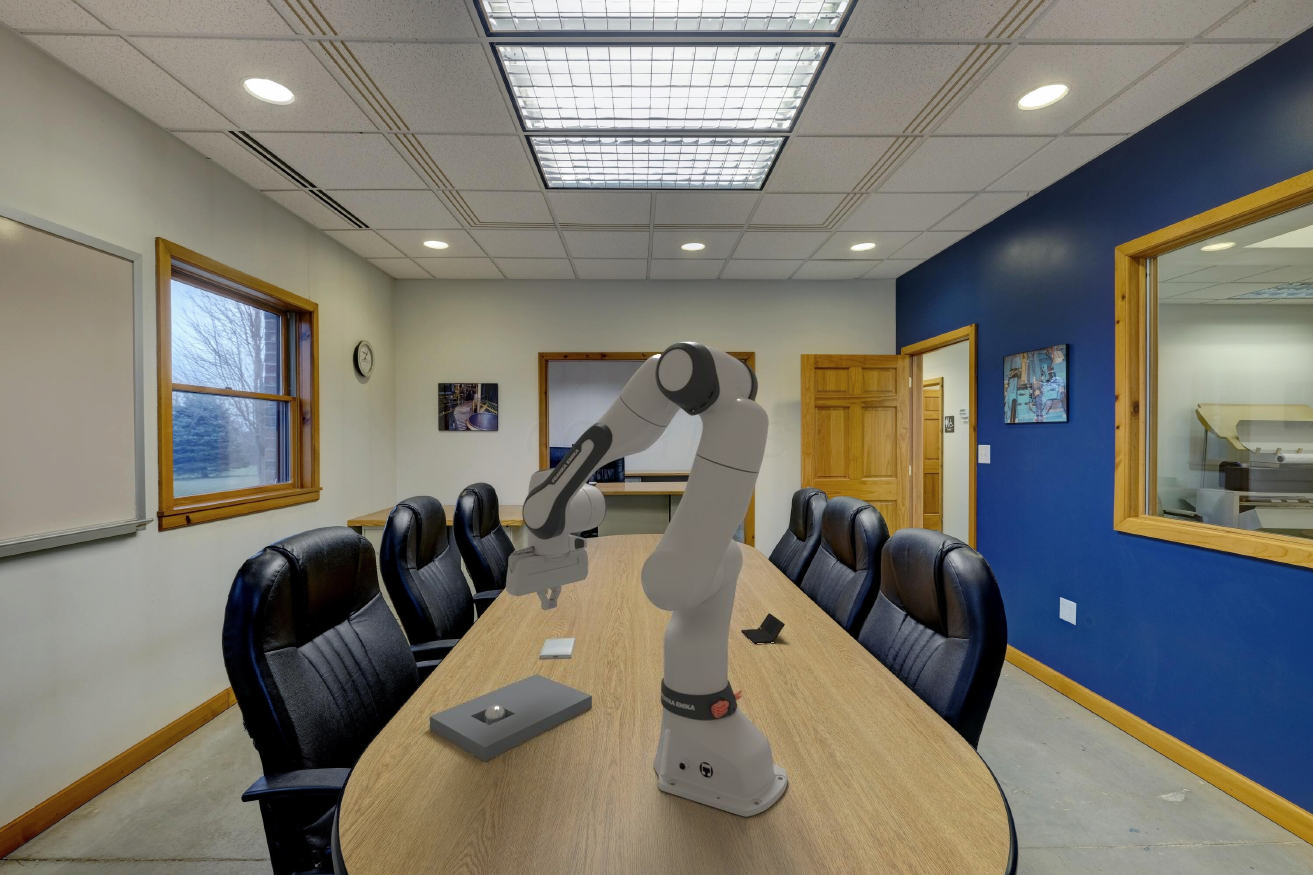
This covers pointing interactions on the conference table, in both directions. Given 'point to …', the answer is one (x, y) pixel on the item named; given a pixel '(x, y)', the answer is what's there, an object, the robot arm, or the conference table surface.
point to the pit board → (510, 716)
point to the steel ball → (494, 714)
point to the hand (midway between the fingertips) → (549, 608)
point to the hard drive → (557, 648)
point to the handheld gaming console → (765, 630)
